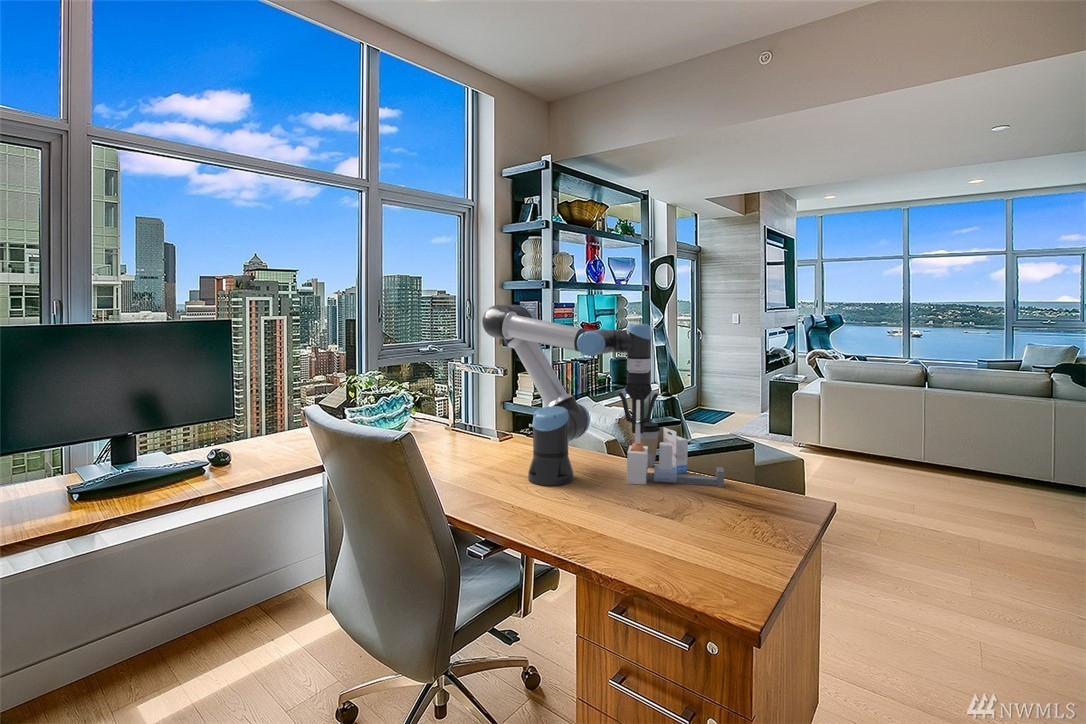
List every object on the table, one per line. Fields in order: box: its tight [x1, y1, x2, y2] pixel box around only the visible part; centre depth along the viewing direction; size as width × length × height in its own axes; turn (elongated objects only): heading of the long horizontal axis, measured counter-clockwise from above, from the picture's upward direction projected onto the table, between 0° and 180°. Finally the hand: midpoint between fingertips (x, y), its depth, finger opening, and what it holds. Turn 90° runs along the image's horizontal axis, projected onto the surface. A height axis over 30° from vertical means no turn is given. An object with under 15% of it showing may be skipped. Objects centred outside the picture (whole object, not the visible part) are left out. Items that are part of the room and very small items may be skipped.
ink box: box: [662, 426, 689, 475], centre depth 188 cm, size 8×5×15 cm, turn 20°
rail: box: [646, 466, 725, 488], centre depth 175 cm, size 24×5×5 cm, turn 76°
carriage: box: [653, 441, 678, 483], centre depth 176 cm, size 7×9×12 cm
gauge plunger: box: [631, 442, 643, 452], centre depth 178 cm, size 4×4×4 cm
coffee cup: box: [636, 421, 661, 468], centre depth 195 cm, size 9×9×15 cm
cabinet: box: [626, 444, 649, 485], centre depth 178 cm, size 6×10×10 cm, turn 166°
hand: (637, 442), depth 177 cm, fingers closed
